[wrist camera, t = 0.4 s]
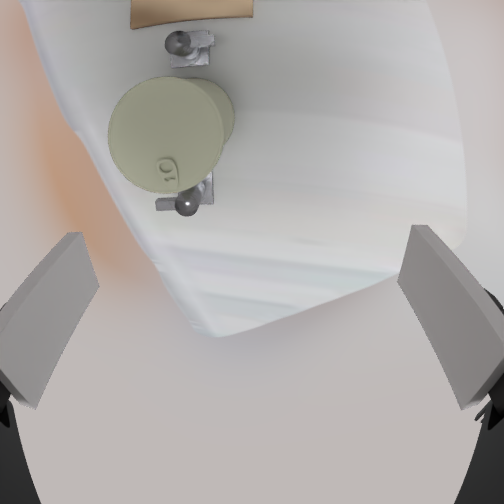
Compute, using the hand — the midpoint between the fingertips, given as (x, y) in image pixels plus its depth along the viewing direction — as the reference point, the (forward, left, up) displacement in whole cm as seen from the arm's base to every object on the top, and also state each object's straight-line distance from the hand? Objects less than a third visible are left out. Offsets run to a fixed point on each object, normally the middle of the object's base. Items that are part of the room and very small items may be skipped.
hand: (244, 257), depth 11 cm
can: (-3, -6, -24) cm, 25 cm away
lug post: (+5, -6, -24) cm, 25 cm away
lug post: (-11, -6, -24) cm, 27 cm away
